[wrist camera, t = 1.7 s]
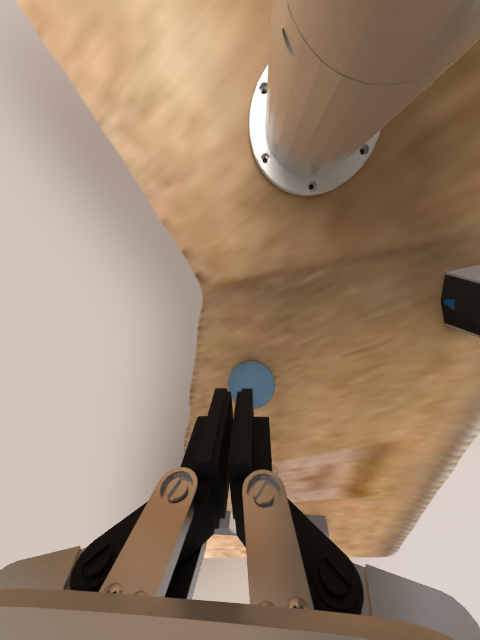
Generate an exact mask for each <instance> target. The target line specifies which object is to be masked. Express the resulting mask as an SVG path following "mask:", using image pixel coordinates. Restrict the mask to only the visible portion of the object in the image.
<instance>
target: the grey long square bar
mask: <svg viewBox="0 0 480 640" xmlns="http://www.w3.org/2000/svg"><path fill="white" fill-rule="evenodd" d="M230 513H231V512H226V516H225V519H220V525H219V529H215V531H214V534H219V535H236V534H235V533H233V532H231V531H230V530H229V524H230ZM305 516H306V517H307V518H308V519H309V520H310V521H311V522H312V523H313V524H314V525H315V526H316V527H318V528H319V529H320V530H321V531H322V532H323V533H324V534H325V535H326V536H327V537H329V531H328V527H327V523H326V519H325V516H307V515H305Z"/></svg>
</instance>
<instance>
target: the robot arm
mask: <svg viewBox="0 0 480 640" xmlns="http://www.w3.org/2000/svg"><path fill="white" fill-rule="evenodd" d="M479 40H480V0H272V13H271V30H270V46H269V62H268V64H267V65H266V67H265V69H264V71H263V72H262V74H261V76H260V78H259V80H258V82H257V85H256V87H255V90H254V93H253V96H252V101H251V106H250V111H249V138H250V143H251V148H252V152H253V155H254V157H255V160H256V163H257V165H258V166H259V168H260V170H261V171H262V173H263V174H264V176H265V177H266V178H267V179H268V180H269V181H270V182H271V183H272V184H273V185H275V186H276V187H278V188H279V189H280V190H283V191H285V192H287V193H290V194H293V195H298V196H315V195H319V194H324V193H326V192H329V191H331V190H333V189H335V188H337V187H338V186H340V185H342V184H343V183H345V182H346V181H347V180H348V179H350V178H351V177H352V176H353V175H355V174H356V172H357V171H358V170H359V169H360V168H361V167H362V166H363V165H364V164H365V162H366V161H367V159H368V158H369V156H370V155H371V153H372V151H373V149H374V147H375V145H376V143H377V140H378V138H379V135H380V132H381V129H382V128H383V127H384V126H385V125H387V124H388V123H389V122H390V121H391V120H392V119H393V118H394V117H395V116H396V115H398V114H399V113H400V112H401V111H402V110H403V109H404V108H405V107H406V106H408V105H409V104H410V103H411V102H412V101H413V100H414V99H415V98H416V97H418V96H419V95H420V94H421V93H422V92H423V91H424V90H425V89H426V88H427V87H429V86H430V85H431V84H432V83H433V82H434V81H435V80H436V79H437V78H439V77H440V76H441V75H442V74H443V73H444V72H445V71H446V70H447V69H449V68H450V67H451V66H452V65H453V64H454V63H455V62H456V61H457V60H458V59H460V58H461V57H462V56H463V55H464V54H465V53H466V52H467V51H468V50H470V49H471V48H472V47H473V46H474V45H475V44H476V43H477V42H478V41H479ZM263 91H265V92H266V94H261V93H262V92H263ZM360 150H362V151H363V154H362V155H361V154H360ZM263 159H267V162H266V163H263V161H262V160H263ZM309 185H312V186H313V189H312V190H310V189H309ZM229 482H230V491H231V502H232V512H233V519H235V525H236V535H237V536H238V537H239V539H240V540H241V542H242V543H243V544H244V546H245V547H246V552H247V566H248V581H249V595H250V604H240V603H228V602H215V601H203V600H192V596H193V593H194V589H195V585H196V582H197V578H198V574H199V571H200V567H201V564H202V560H203V556H204V553H205V549H206V543H207V540H208V539H209V538H210V537H211V536H212V535H213V534H214V531H215V529H219V525H220V519H225V516H226V508H227V499H228V491H229ZM0 640H480V628H479V626H478V624H477V622H476V621H475V620H474V619H473V617H472V616H471V615H470V614H469V612H468V611H467V610H466V609H465V608H464V607H463V606H462V605H461V604H460V603H459V602H457V601H456V600H455V599H454V598H453V597H451V596H449V595H447V594H445V593H444V592H442V591H439V590H436V589H434V588H431V587H428V586H425V585H423V584H420V583H417V582H414V581H411V580H409V579H406V578H403V577H400V576H397V575H395V574H392V573H389V572H386V571H384V570H381V569H378V568H375V567H373V566H370V565H367V564H366V566H365V567H362V566H359V565H357V564H354V563H352V562H351V561H350V559H349V558H348V557H347V556H346V555H345V554H344V553H343V552H342V551H341V550H340V549H339V548H338V547H337V546H336V545H335V544H334V543H333V542H332V541H331V540H330V539H329V538H328V537H327V536H326V535H325V534H324V533H323V532H322V531H321V530H320V529H319V528H318V527H316V526H315V525H314V524H313V523H312V522H311V521H310V520H309V519H308V518H307V517H306V516H305V515H304V514H303V513H302V512H301V511H300V510H299V509H298V508H297V507H296V506H295V505H294V504H293V503H292V502H291V501H290V500H289V499H288V498H287V496H286V491H285V487H284V485H283V482H282V481H281V479H280V478H279V477H278V476H277V475H276V474H275V473H273V472H272V459H271V443H270V428H269V417H254V409H253V389H252V388H242V389H241V391H237V397H236V404H235V412H234V419H233V409H232V396H231V391H227V388H216V389H215V392H214V395H213V399H212V402H211V406H210V409H209V413H208V416H199V417H198V418H197V420H196V423H195V426H194V429H193V432H192V435H191V438H190V441H189V444H188V447H187V450H186V453H185V455H184V458H183V461H182V464H181V467H180V468H176V469H173V470H171V471H169V472H167V473H166V474H165V475H164V476H163V477H162V478H161V480H160V481H159V483H158V484H157V486H156V488H155V490H154V492H153V493H152V495H151V497H150V499H149V501H148V502H146V503H145V504H144V505H142V506H141V507H139V508H138V509H137V510H135V511H134V512H133V513H131V514H130V515H129V516H127V517H126V518H124V519H123V520H122V521H120V522H119V523H118V524H116V525H115V526H114V527H112V528H111V529H109V530H108V531H107V532H105V533H104V534H103V535H101V536H100V537H99V538H97V539H96V540H94V541H93V542H92V543H91V544H90V545H89V546H88V547H87V548H84V549H81V548H80V546H78V547H73V548H69V549H65V550H61V551H57V552H53V553H49V554H44V555H41V556H36V557H32V558H28V559H24V560H20V561H16V562H14V563H12V564H9V565H7V566H6V567H4V568H3V569H2V570H0Z"/></svg>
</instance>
